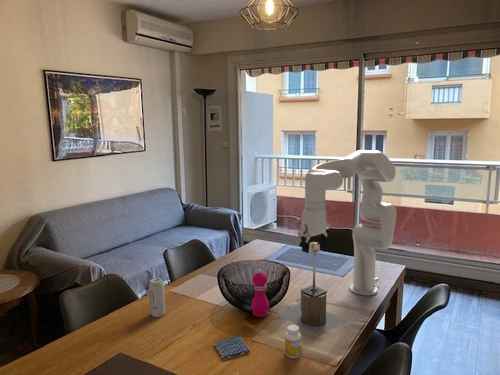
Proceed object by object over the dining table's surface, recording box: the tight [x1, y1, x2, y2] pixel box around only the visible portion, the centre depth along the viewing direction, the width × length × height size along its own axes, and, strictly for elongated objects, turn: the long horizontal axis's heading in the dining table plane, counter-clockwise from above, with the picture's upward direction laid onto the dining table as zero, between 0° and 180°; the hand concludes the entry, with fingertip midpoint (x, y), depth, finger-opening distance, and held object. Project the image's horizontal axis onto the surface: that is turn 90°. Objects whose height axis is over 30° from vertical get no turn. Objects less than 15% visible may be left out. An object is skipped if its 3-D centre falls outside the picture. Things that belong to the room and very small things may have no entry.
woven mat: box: [213, 335, 251, 361], centre depth 136 cm, size 10×11×2 cm
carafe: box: [300, 284, 328, 326], centre depth 152 cm, size 10×11×12 cm
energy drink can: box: [148, 277, 166, 318], centre depth 160 cm, size 6×6×15 cm
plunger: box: [305, 241, 322, 297], centre depth 149 cm, size 7×7×20 cm
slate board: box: [277, 302, 347, 336], centre depth 155 cm, size 16×22×1 cm
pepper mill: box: [250, 268, 270, 318], centre depth 157 cm, size 7×7×20 cm
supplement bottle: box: [284, 324, 302, 359], centre depth 132 cm, size 5×5×10 cm
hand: (314, 249), depth 147 cm, fingers open, 9 cm apart
